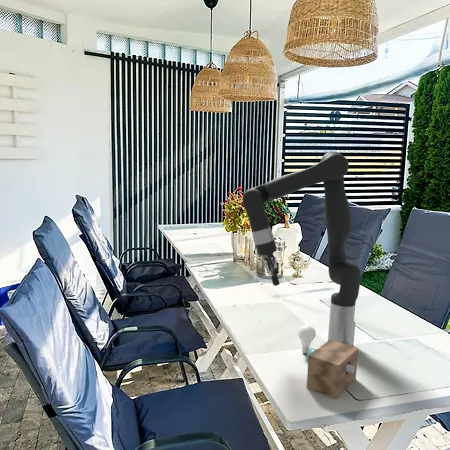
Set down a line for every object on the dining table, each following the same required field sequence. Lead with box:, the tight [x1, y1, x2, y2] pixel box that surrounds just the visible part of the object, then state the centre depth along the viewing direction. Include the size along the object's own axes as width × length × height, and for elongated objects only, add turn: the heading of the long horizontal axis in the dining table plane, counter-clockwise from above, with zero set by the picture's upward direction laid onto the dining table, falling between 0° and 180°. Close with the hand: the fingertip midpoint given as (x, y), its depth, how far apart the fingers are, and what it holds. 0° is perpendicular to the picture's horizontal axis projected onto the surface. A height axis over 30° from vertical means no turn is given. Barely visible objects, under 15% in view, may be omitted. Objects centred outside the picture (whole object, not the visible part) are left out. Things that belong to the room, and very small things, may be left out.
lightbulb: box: [297, 324, 317, 355], centre depth 165 cm, size 6×6×11 cm
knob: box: [305, 347, 355, 374], centre depth 144 cm, size 15×5×5 cm, turn 53°
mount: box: [306, 340, 359, 400], centre depth 144 cm, size 12×16×11 cm
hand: (276, 284), depth 167 cm, fingers closed
